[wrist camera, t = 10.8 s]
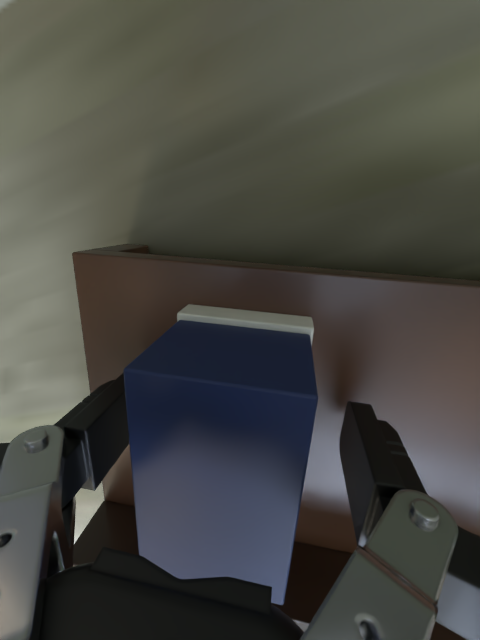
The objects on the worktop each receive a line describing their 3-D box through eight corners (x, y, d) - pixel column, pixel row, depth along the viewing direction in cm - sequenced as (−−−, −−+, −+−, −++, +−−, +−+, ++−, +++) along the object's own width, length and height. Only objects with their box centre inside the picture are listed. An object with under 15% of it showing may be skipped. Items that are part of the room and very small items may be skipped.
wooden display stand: (126, 243, 15) (-3, 262, 9) (579, 278, 12) (908, 347, 6) (141, 460, 20) (65, 579, 13) (471, 522, 17) (584, 715, 10)
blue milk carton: (187, 303, 11) (116, 360, 7) (312, 316, 10) (325, 388, 6) (188, 514, 15) (142, 642, 10) (281, 534, 14) (274, 680, 10)
